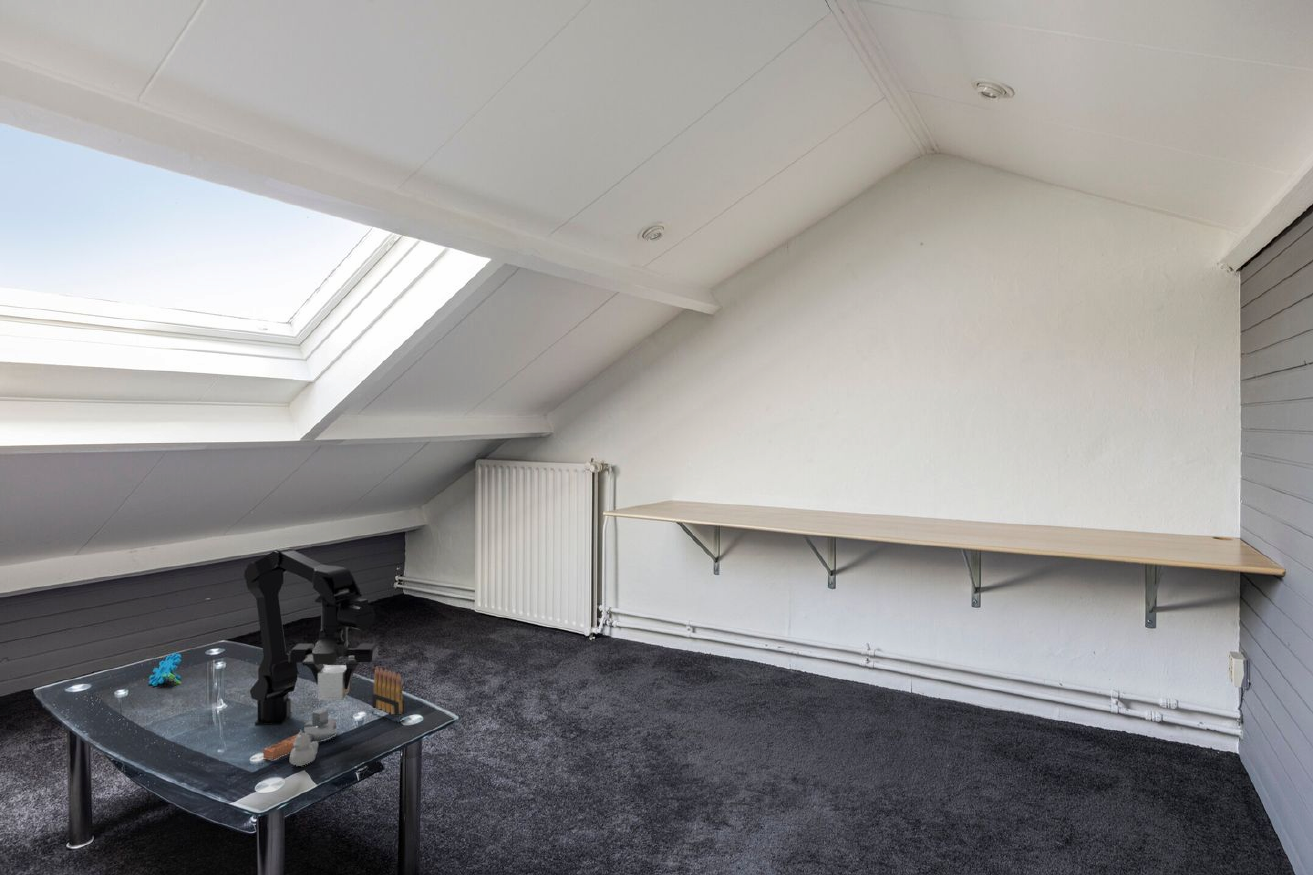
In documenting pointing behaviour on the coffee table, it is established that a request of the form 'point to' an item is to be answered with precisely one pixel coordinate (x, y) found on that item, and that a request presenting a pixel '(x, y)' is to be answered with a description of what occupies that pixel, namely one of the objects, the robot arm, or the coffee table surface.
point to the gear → (166, 670)
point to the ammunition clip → (387, 692)
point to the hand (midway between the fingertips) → (333, 688)
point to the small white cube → (332, 683)
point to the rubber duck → (303, 750)
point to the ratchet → (314, 729)
